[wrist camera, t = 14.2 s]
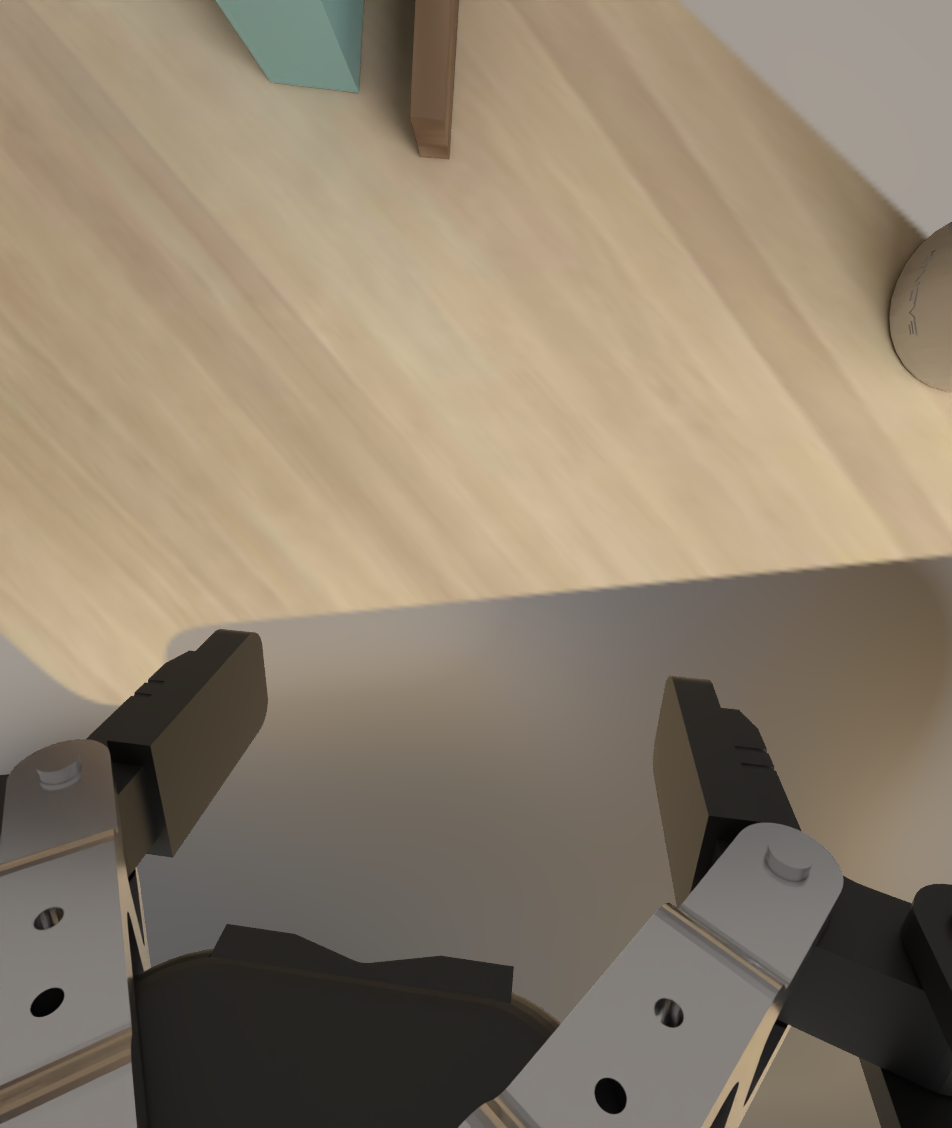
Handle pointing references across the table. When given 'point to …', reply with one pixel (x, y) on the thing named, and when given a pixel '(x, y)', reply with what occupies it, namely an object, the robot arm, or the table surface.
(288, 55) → the teal block
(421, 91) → the walnut corner
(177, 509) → the table surface
